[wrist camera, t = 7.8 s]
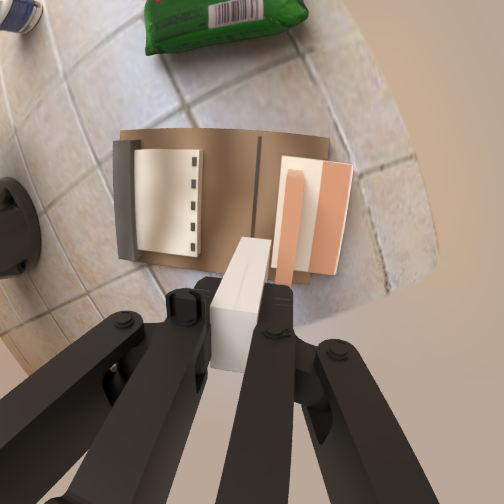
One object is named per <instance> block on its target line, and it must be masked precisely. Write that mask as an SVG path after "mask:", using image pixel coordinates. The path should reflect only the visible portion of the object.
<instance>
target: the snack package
mask: <svg viewBox="0 0 504 504" xmlns="http://www.w3.org/2000/svg"><path fill="white" fill-rule="evenodd" d="M308 13H309V12H308V10H307V8H306V6H305V5H304V3H303V0H147V1H146V4H145V9H144V16H145V25H146V48H145V52H146V56H151V55H155V54H163V53H180V52H183V51H187V50H190V49H194V48H198V47H202V46H205V45H210V44H216V43H224V42H231V41H235V40H241V39H247V38H252V37H257V36H263V35H271V34H276V33H280V32H283V31H285V30H288V29H289V28H291V27H293V26H295V25H297V24H299V23H301V22H303V21H304V20H306V19H307V17H308Z"/></svg>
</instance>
